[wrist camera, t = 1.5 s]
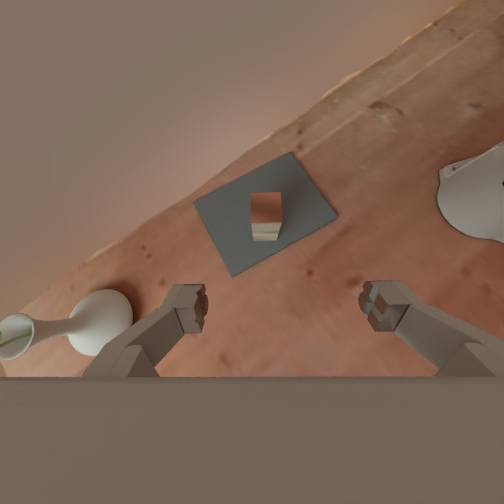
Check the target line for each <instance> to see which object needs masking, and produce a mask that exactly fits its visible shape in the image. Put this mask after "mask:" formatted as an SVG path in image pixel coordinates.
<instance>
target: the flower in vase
mask: <svg viewBox="0 0 504 504" xmlns="http://www.w3.org/2000/svg"><path fill="white" fill-rule="evenodd" d="M132 320H133V312H132V308H131V305H130V303H129V301H128V299H127V298H126V297H125V296H124V295H123V294H122V293H120V292H118V291H116V290H113V289H102V290H98V291H95V292H93V293H91V294H89V295H87V296H85V297H84V298H83V299H82V300H81V301H79V303H78V304H77V305H76V306H75V308H74V309H73V311H72V312H71V314H70V317H69V319H64V320H55V321H43V320H36V319H33V318H31V317H30V316H29V315H27V314H23V313H16V314H13V315H10V316H8V317H6V319H4V320H3V321H2V322H1V323H0V358H1V359H4V360H10V359H14V358H16V357H18V356H20V355H22V354H23V353H24V352H25V351H26V350H27V349H29V348H30V347H31V346H33V345H35V344H37V343H39V342H42V341H44V340H48V339H51V338H54V337H59V336H64V335H68V338H69V340H70V342H71V344H72V345H73V347H74V348H75V349H76V350H77V351H79V352H80V353H82V354H85V355H90V356H97V355H98V353H99V352H100V351H101V349H102V348H103V346H104V345H105V344H106V343H108V342H109V341H111V340H112V339H113V338H115V337H116V336H118V335H119V334H121V333H122V332H124V331H125V330H126V329H128V328H129V327H131V325H132Z"/></svg>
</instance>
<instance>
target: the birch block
mask: <svg viewBox="0 0 504 504" xmlns="http://www.w3.org/2000/svg"><path fill="white" fill-rule="evenodd" d="M250 200H251V226H252V233H253V241H277V237H278V234H279V230H280V227H281V223H282V205H281V192H267V193H250Z"/></svg>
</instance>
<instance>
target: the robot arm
mask: <svg viewBox="0 0 504 504" xmlns="http://www.w3.org/2000/svg"><path fill="white" fill-rule="evenodd" d="M439 176H440V181H441V182H440V187H439V190H438V194H437V200H438V205H439V208H440V210H441V212H442V214H443V216H444V217H445V218H446V220H447V221H448V222H449V223H450V224H451V225H452V226H454V227H455V228H456V229H458V230H459V231H461V232H463V233H465V234H467V235H470V236H473V237H477V238H484V239H494V240H497V241H499V242H502V243H504V141H503V142H501V143H499V144H497V145H495V146H493V147H492V148H490V150H488V151H487V152H485V153H483V154H481V155H478V156H475V157H472V158H469V159H466V160H463V161H460V162H456V163H453V164H450V165H447V166H445V167H443V168H442V169H440V171H439ZM363 289H364V291H363V292H361V293H360V295H359V298H358V300H359V306H360V308H361V310H362V312H363V313H365V314H366V315H368V319H367V320H368V321H369V323H370V325H371V326H372V328H373V329H374V331H375V332H394V334H396V335H397V336H398V337H400V338H401V339H402V340H403V341H405V342H406V343H407V344H409V345H410V346H411V347H412V348H414V349H415V350H416V351H417V352H419V353H420V354H421V355H423V356H424V357H425V358H426V359H428V360H429V361H430V362H432V363H433V364H434V365H435V366H437V367H438V368H439V369H440V370H439V371H438V372H437V373H436V374H435V375H434V377H160V376H159V374H158V373H157V371H156V370H155V368H154V367H155V366H156V365H157V364H158V363H159V362H160V361H161V360H162V359H163V357H164V356H165V355H166V354H167V353H168V352H169V351H170V350H171V349H172V348H173V347H174V345H175V344H176V343H177V342H178V341H179V340H180V339H181V338H182V337H183V336H184V334H193V333H201V332H202V329H203V325H204V322H205V321H204V316H205V315H206V314H207V311H208V297H207V295H205V291H206V288H205V285H204V284H175V285H173V286H172V288H171V290H170V291H169V293H168V295H167V297H166V298H165V300H164V302H163V304H162V305H161V307H160V308H157V309H155V310H154V311H152V312H151V313H150V314H148V315H147V316H145V317H144V318H142V319H141V320H139V321H138V322H137V323H135V324H134V325H132V326H131V327H129V328H128V329H126V330H125V331H124V332H122V333H121V334H119V335H118V336H116V337H115V338H113V339H112V340H111V341H109V342H108V343H106V344H105V345H104V346H103V348H102V349H101V351H100V352H99V353H98V355H97V356H96V357H95V359H94V360H93V361H92V363H91V364H90V365H89V367H88V368H87V369H86V371H85V372H84V373H83V375H82V376H81V377H0V504H504V340H502V339H500V338H497V337H495V336H493V335H491V334H489V333H487V332H485V331H483V330H481V329H479V328H477V327H475V326H473V325H471V324H468V323H466V322H464V321H462V320H460V319H458V318H456V317H454V316H452V315H450V314H448V313H446V312H444V311H442V310H439V309H437V308H435V307H433V306H431V305H426V304H425V303H423V302H422V301H421V300H420V299H419V298H418V297H417V296H416V295H415V294H414V293H413V292H412V291H411V290H410V289H409V288H408V287H407V286H406V285H405V284H404V283H403V282H401V281H399V280H387V281H366V282H365V283H364V284H363Z"/></svg>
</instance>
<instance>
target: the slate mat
mask: <svg viewBox="0 0 504 504" xmlns="http://www.w3.org/2000/svg"><path fill="white" fill-rule="evenodd" d="M267 192H281V205H282V223H281V227H280V230H279V234H278V237H277V241H253V233H252V226H251V200H250V193H267ZM193 204H194V206H195V208H196V209H197V211H198V213H199V215H200V217H201V219H202V221H203V223H204V225H205V227H206V228H207V230H208V232H209V234H210V236H211V238H212V240H213V242H214V244H215V245H216V247H217V249H218V251H219V253H220V255H221V257H222V259H223V261H224V263H225V264H226V266H227V268H228V270H229V272H230V274H231V276H232V277H234V276H236V275H237V274H239V273H241V272H243V271H245V270H246V269H248V268H250V267H252V266H253V265H255V264H257V263H259V262H261V261H262V260H264V259H266V258H268V257H270V256H271V255H273V254H275V253H277V252H278V251H280V250H282V249H284V248H286V247H287V246H289V245H291V244H293V243H295V242H296V241H298V240H300V239H302V238H304V237H305V236H307V235H309V234H311V233H312V232H314V231H316V230H318V229H320V228H321V227H323V226H325V225H327V224H329V223H330V222H332V221H334V220H336V219H337V218H338V216H337V215H336V213H335V212H334V211H333V209H332V208H331V207H330V205H329V204H328V203H327V201H326V200H325V198H324V197H323V196H322V194H321V193H320V192H319V190H318V189H317V188H316V186H315V185H314V183H313V182H312V181H311V179H310V178H309V177H308V175H307V174H306V173H305V171H304V170H303V169H302V167H301V166H300V164H299V163H298V162H297V160H296V159H295V158H294V156H293V155H292V154H291V152H289V153H287V154H285V155H283V156H281V157H279V158H277V159H275V160H273V161H271V162H269V163H267V164H265V165H264V166H262V167H260V168H258V169H256V170H254V171H252V172H250V173H248V174H246V175H244V176H242V177H240V178H238V179H236V180H235V181H233V182H231V183H229V184H227V185H225V186H223V187H221V188H219V189H217V190H215V191H213V192H211V193H209V194H207V195H205V196H204V197H202V198H200V199H198V200H196V201H194V202H193Z"/></svg>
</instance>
